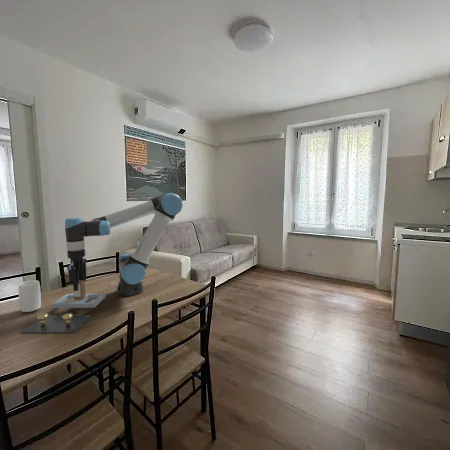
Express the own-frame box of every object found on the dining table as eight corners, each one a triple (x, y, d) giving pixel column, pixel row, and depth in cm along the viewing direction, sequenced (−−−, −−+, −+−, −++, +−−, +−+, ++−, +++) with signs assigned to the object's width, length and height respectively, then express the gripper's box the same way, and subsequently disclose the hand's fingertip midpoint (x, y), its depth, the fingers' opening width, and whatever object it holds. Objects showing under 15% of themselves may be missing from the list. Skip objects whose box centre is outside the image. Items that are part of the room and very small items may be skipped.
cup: (24, 316, 115) (21, 287, 114) (17, 311, 120) (14, 283, 118) (45, 309, 122) (43, 282, 121) (37, 305, 127) (35, 278, 125)
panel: (94, 307, 118) (93, 285, 117) (52, 308, 118) (50, 286, 116) (105, 296, 130) (104, 277, 129) (67, 297, 129) (65, 277, 128)
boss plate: (91, 316, 117) (91, 305, 116) (75, 332, 103) (74, 320, 102) (44, 316, 116) (43, 305, 115) (20, 332, 102) (19, 320, 101)
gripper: (77, 245, 128) (80, 288, 131) (57, 253, 112) (62, 301, 115) (91, 245, 128) (95, 288, 132) (74, 253, 113) (78, 301, 116)
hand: (79, 294), depth 123 cm, fingers closed on panel, 3 cm apart
